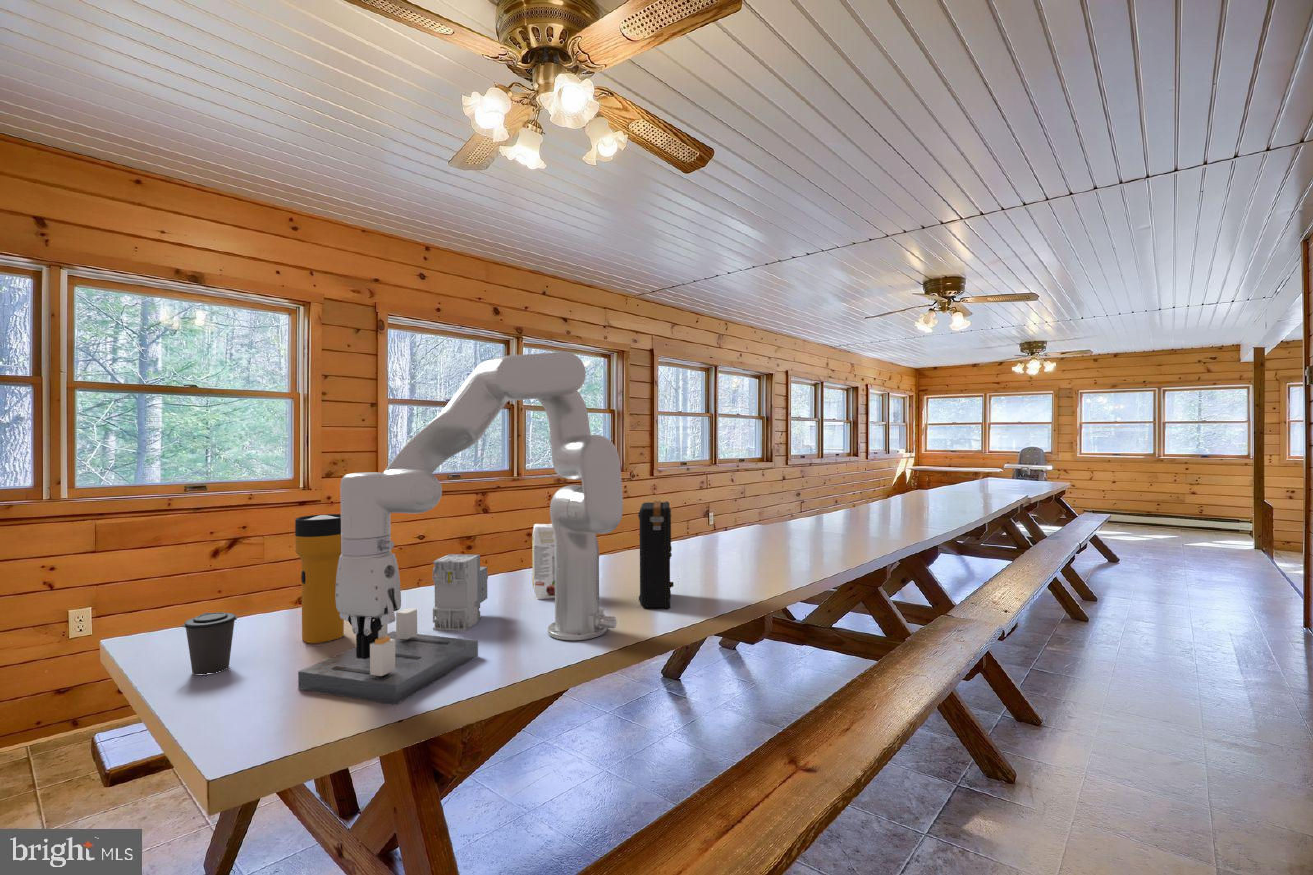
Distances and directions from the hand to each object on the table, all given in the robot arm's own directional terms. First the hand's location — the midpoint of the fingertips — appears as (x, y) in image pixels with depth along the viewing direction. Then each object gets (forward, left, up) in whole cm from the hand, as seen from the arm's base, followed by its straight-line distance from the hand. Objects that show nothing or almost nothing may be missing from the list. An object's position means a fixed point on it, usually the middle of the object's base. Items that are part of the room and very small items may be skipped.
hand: (367, 655), depth 101 cm
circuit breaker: (+8, -38, -6) cm, 39 cm away
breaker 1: (+5, -8, -2) cm, 10 cm away
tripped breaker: (-3, 0, -2) cm, 4 cm away
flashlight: (+29, -19, -6) cm, 35 cm away
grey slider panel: (+1, -8, -6) cm, 10 cm away
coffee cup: (+34, +1, -6) cm, 35 cm away
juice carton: (-1, -63, -6) cm, 63 cm away
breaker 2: (+5, -16, -2) cm, 17 cm away
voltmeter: (-30, -66, -6) cm, 72 cm away
